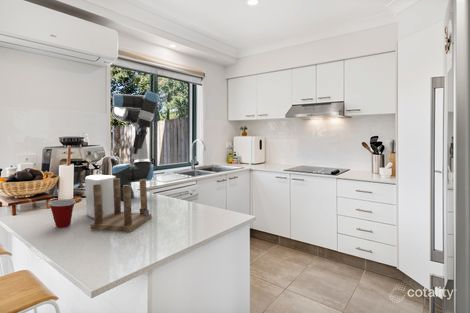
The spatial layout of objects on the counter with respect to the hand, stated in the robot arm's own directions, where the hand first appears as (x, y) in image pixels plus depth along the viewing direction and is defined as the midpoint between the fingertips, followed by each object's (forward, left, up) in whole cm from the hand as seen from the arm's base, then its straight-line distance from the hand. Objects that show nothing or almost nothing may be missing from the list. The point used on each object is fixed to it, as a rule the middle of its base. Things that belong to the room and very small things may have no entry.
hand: (133, 159), depth 151 cm
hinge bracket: (+9, +17, -27) cm, 33 cm away
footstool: (+18, +13, -30) cm, 37 cm away
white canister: (+15, -11, -30) cm, 36 cm away
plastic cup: (+34, -9, -30) cm, 47 cm away
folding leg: (+9, +17, -25) cm, 32 cm away
